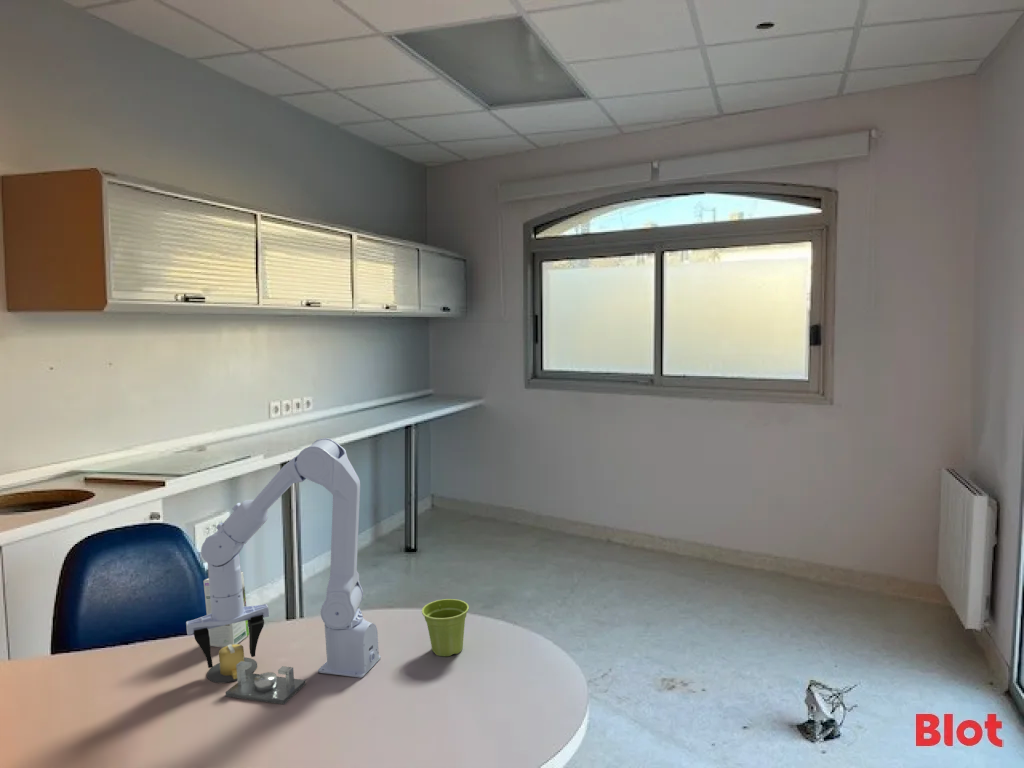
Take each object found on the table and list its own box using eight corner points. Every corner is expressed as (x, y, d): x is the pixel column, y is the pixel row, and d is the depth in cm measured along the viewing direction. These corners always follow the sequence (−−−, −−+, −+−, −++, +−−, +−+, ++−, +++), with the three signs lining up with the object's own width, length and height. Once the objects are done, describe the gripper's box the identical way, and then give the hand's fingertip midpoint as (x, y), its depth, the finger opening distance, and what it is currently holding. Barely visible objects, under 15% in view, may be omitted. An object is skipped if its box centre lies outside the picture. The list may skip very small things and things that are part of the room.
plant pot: (417, 659, 134) (414, 617, 134) (432, 637, 143) (430, 597, 143) (462, 663, 132) (460, 620, 131) (475, 640, 141) (474, 600, 141)
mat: (266, 661, 136) (266, 660, 136) (237, 685, 127) (236, 683, 127) (228, 656, 138) (228, 655, 138) (196, 679, 129) (196, 678, 129)
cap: (249, 674, 130) (247, 652, 130) (224, 682, 128) (222, 659, 127) (240, 657, 137) (238, 636, 136) (216, 664, 134) (215, 643, 134)
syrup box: (233, 648, 142) (228, 580, 140) (208, 646, 143) (202, 579, 141) (249, 635, 147) (244, 570, 146) (224, 634, 148) (219, 569, 147)
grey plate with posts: (305, 684, 127) (304, 660, 126) (283, 704, 120) (282, 679, 120) (249, 677, 130) (248, 653, 129) (225, 696, 123) (223, 671, 123)
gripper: (262, 577, 138) (267, 642, 139) (183, 593, 131) (188, 661, 132) (268, 588, 132) (273, 656, 133) (185, 606, 125) (191, 677, 126)
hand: (231, 660), depth 132 cm, fingers open, 7 cm apart
